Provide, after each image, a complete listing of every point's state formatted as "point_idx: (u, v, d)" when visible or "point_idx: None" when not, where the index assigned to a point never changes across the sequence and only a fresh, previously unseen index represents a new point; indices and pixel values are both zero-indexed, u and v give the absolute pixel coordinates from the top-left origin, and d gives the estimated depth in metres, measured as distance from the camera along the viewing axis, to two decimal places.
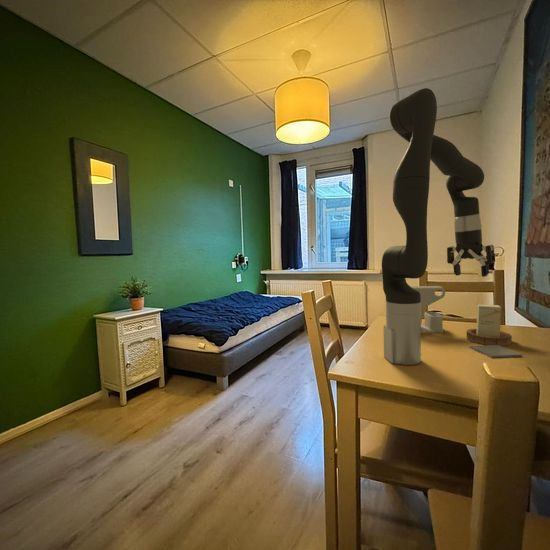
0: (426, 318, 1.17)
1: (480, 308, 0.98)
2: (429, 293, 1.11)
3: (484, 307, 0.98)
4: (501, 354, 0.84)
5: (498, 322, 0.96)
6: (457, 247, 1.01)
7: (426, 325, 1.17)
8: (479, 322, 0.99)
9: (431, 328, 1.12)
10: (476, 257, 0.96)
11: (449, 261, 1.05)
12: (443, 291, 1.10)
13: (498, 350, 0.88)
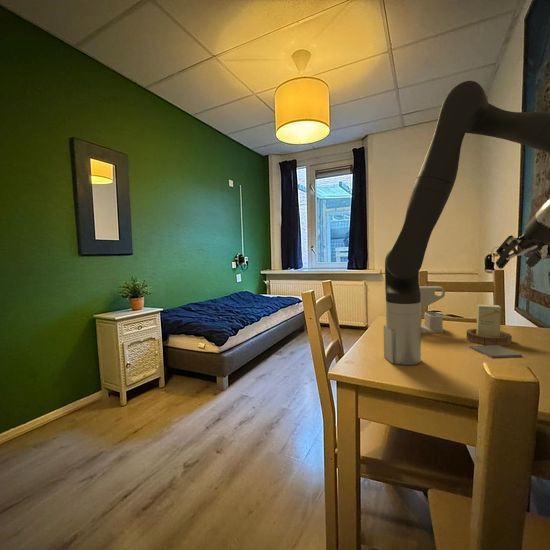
0: (426, 318, 1.17)
1: (480, 308, 0.98)
2: (429, 293, 1.11)
3: (484, 307, 0.98)
4: (501, 354, 0.84)
5: (498, 322, 0.96)
6: None
7: (426, 325, 1.17)
8: (479, 322, 0.99)
9: (431, 328, 1.12)
10: None
11: None
12: (443, 291, 1.10)
13: (498, 350, 0.88)
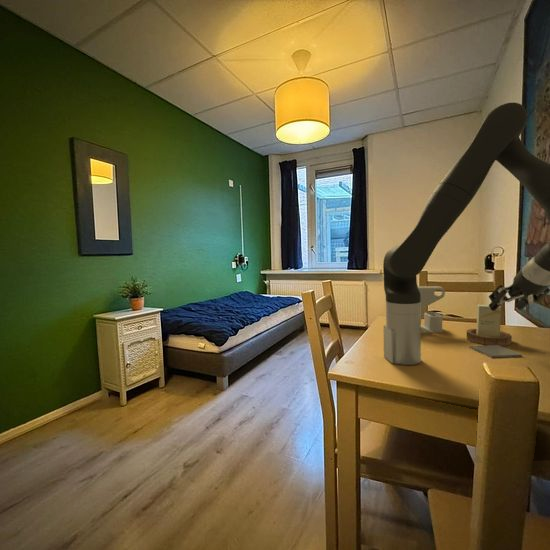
0: (426, 318, 1.17)
1: (480, 308, 0.98)
2: (429, 293, 1.11)
3: (484, 307, 0.98)
4: (501, 354, 0.84)
5: (498, 322, 0.96)
6: None
7: (426, 325, 1.17)
8: (479, 322, 0.99)
9: (431, 328, 1.12)
10: None
11: None
12: (443, 291, 1.10)
13: (498, 350, 0.88)
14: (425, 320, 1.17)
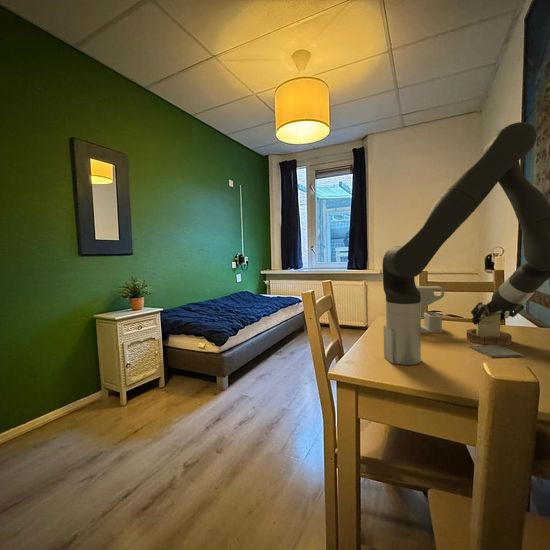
0: (425, 318, 1.16)
1: None
2: (428, 293, 1.11)
3: None
4: (501, 354, 0.84)
5: (498, 322, 0.96)
6: None
7: (425, 325, 1.17)
8: (479, 322, 0.99)
9: (430, 328, 1.12)
10: None
11: None
12: (442, 291, 1.10)
13: (498, 350, 0.88)
14: (425, 320, 1.17)
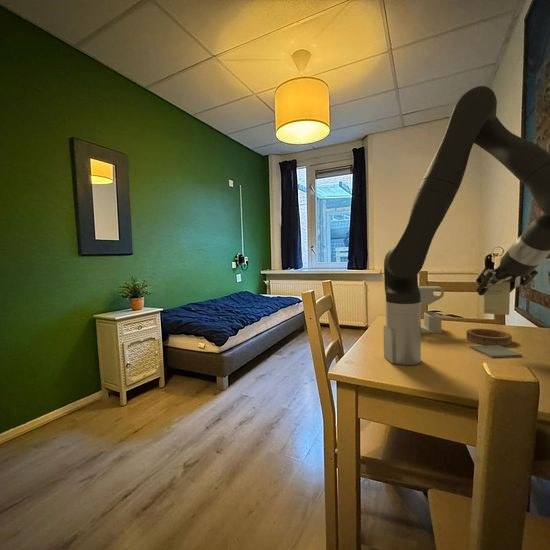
0: (425, 318, 1.16)
1: None
2: (427, 293, 1.11)
3: None
4: (501, 354, 0.84)
5: (507, 291, 0.84)
6: None
7: (425, 325, 1.17)
8: (485, 292, 0.86)
9: (430, 328, 1.12)
10: None
11: None
12: (442, 291, 1.10)
13: (498, 350, 0.88)
14: (424, 320, 1.17)
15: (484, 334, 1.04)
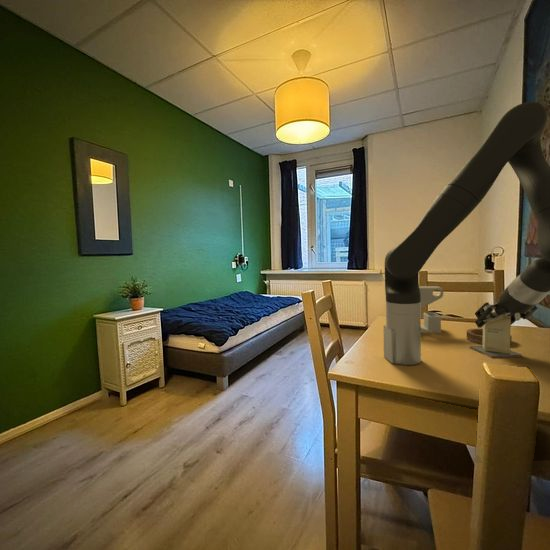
0: (425, 318, 1.16)
1: None
2: (427, 293, 1.11)
3: None
4: (501, 354, 0.84)
5: (508, 330, 0.85)
6: None
7: (425, 325, 1.16)
8: (486, 330, 0.87)
9: (429, 328, 1.12)
10: None
11: None
12: (441, 291, 1.09)
13: None
14: (424, 320, 1.17)
15: None
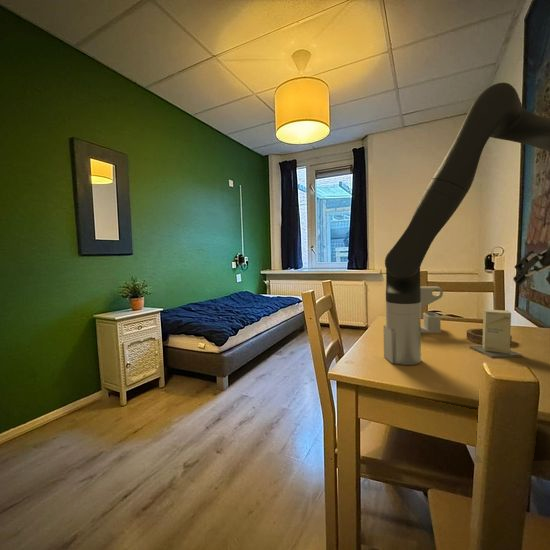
0: (424, 318, 1.16)
1: (487, 314, 0.87)
2: (426, 293, 1.11)
3: (492, 313, 0.86)
4: (501, 354, 0.84)
5: (508, 330, 0.85)
6: None
7: (424, 325, 1.16)
8: (486, 330, 0.87)
9: (429, 328, 1.12)
10: None
11: None
12: (441, 291, 1.09)
13: None
14: (424, 320, 1.17)
15: None
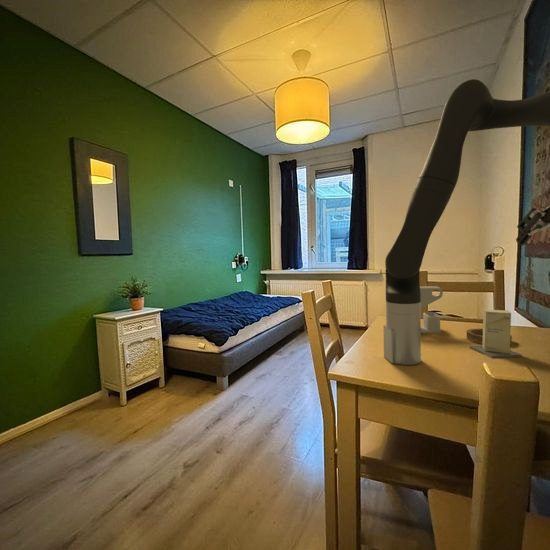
0: (424, 318, 1.16)
1: (487, 314, 0.87)
2: (426, 293, 1.11)
3: (492, 313, 0.86)
4: (501, 354, 0.84)
5: (508, 330, 0.85)
6: None
7: (424, 325, 1.16)
8: (486, 330, 0.87)
9: (428, 328, 1.12)
10: None
11: None
12: (440, 291, 1.09)
13: None
14: (424, 320, 1.17)
15: None
